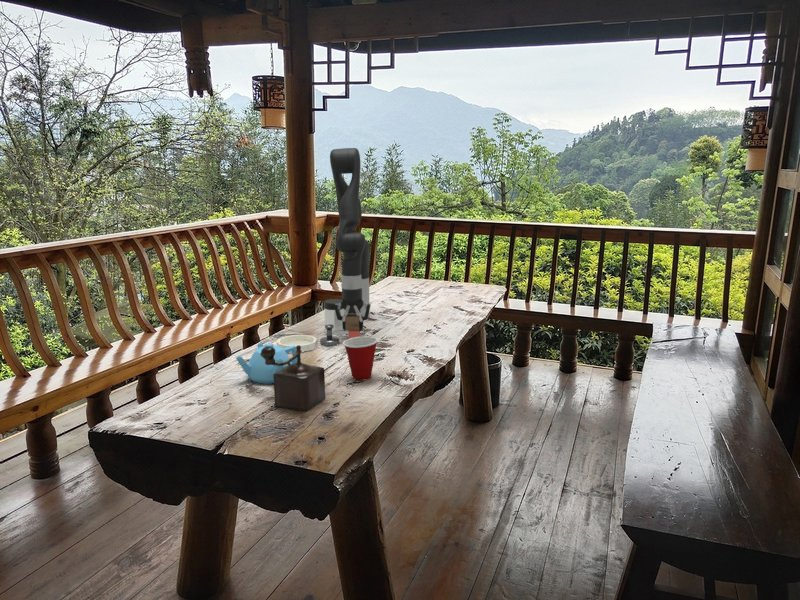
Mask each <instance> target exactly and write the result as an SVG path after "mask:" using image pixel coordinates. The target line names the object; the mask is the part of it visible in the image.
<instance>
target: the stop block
mask: <svg viewBox="0 0 800 600" xmlns="http://www.w3.org/2000/svg"><path fill="white" fill-rule="evenodd" d="M359 321H360V320H359V316H357V314H354V313H348V315H347V316H345V328H346V330H359ZM345 336H349V334H345Z"/></svg>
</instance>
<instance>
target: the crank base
mask: <svg viewBox="0 0 800 600" xmlns="http://www.w3.org/2000/svg"><path fill="white" fill-rule="evenodd" d="M325 328H326V329H327V333H326V337H321V338H320V339H319V344H321V346H322V345H324V346H323V347H334V346H333V345H335V346H338V345H339V344H340V338H339V337H336V336H333V333H332V328H334V325H331V324H328V325H325V324H324V329H325ZM337 344H338V345H337Z"/></svg>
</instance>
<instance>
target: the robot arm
mask: <svg viewBox="0 0 800 600" xmlns="http://www.w3.org/2000/svg"><path fill="white" fill-rule="evenodd" d="M329 163H330V168H331V169H330V170H331V173H332V177H333V183H334V188H335V196H336V206H337V212H338V213H337V214H338V218H339V219H338V220H339V227H338V232H337V236H336V240H335V246H336V249H337V251H338V252H341V253H343V258H344V259H342V261H341V285H340V286H341V300H342V302H341V303H338V304H337V303H336V304H335V305H334V309H335V312H336V316H337V319H338V320H341V321H342V324H343V329H344V330H346V328H345V316H347V315H348V313H354V314H357V316H359V320H360V321H359V331H360V332H361V331H363V329H364V321H367V320H368V319H369V318H370V314H371V313H370V310H371V306H372V304H371V303H370V244H369V241H368V240H367V239H366V236H365V235H364V234H363V233H362V232H360V231H359V232H358V231H357V232H354V230H355V228H356V227H358V226H359V225H360V221H361V218H362V215H363V214H362V212H363V210H362V205H361V203H362V201H361V199H360V186H361V185H360V184H361V183H360V182H361V166H362V165H361V164H362V163H361V154H360V152H359V149H358V148H356V147H348V148H347V147H345V148H344V147H342V148H334V149H332V150H331V151H330V154H329ZM346 174H348V175H349V174H351V178H350V182H349V184H348V183H347V181H346V180H345V178H344V177H343V175H346ZM340 306H342V307H343V309H344V310H345V313H344V316H341V314H340V310H339V309H340Z"/></svg>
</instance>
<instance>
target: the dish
mask: <svg viewBox="0 0 800 600" xmlns="http://www.w3.org/2000/svg"><path fill="white" fill-rule="evenodd" d="M293 345H295V346H297V345H300V346H301V349H300V350H301V352H304V351H309V350H312V349H314V350H316V349H317V348H316V347H318V338H317V337H315V336H313V335H307V334H292V335H286V336H282V337H280V338H278V339H277V340H276V346H279V347H281V348H283V349H284V348H287V347H290V346H293ZM315 348H316V349H315ZM312 351H313V350H312ZM309 352H310V351H309ZM304 353H305V352H304ZM288 354H292V351H291V352H289V353H288Z"/></svg>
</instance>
